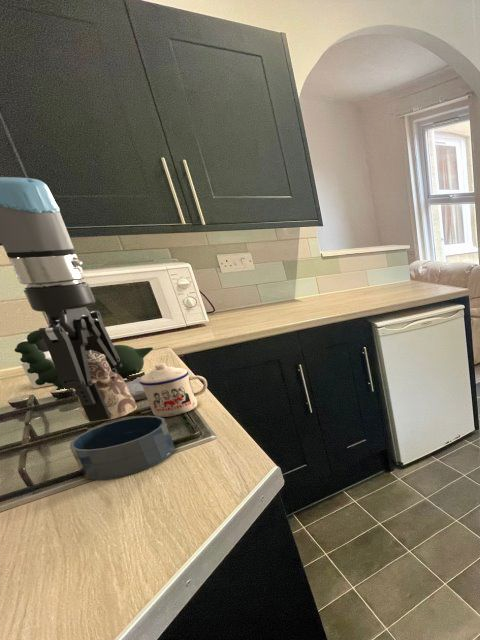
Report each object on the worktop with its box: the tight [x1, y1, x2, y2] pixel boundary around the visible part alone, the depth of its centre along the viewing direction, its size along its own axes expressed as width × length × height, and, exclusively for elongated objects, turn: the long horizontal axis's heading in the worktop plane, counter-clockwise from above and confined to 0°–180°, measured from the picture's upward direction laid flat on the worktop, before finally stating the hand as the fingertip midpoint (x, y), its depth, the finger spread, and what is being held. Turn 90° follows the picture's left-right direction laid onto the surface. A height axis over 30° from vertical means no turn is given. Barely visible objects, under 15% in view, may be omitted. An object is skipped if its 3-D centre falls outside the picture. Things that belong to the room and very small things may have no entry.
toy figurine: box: [13, 329, 154, 391], centre depth 113 cm, size 9×19×25 cm
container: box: [18, 338, 55, 389], centre depth 119 cm, size 8×8×13 cm
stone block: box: [125, 374, 147, 402], centre depth 110 cm, size 12×5×10 cm
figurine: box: [77, 350, 137, 422], centre depth 74 cm, size 7×7×12 cm
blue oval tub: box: [69, 415, 176, 481], centre depth 79 cm, size 13×14×6 cm
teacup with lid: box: [140, 362, 208, 418], centre depth 100 cm, size 12×9×12 cm
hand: (110, 410), depth 76 cm, fingers closed on figurine, 7 cm apart
